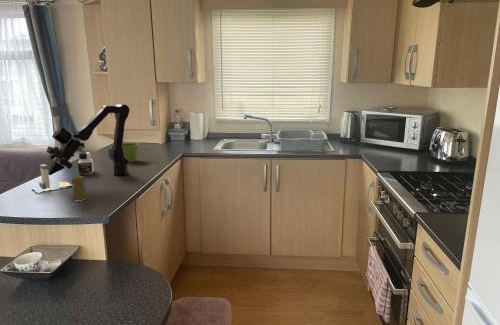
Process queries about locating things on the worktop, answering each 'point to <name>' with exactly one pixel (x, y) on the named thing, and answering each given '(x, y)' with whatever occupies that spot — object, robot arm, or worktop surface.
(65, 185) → the base
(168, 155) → the worktop surface
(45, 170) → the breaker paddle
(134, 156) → the plant pot
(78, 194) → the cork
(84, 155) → the medicine bottle
